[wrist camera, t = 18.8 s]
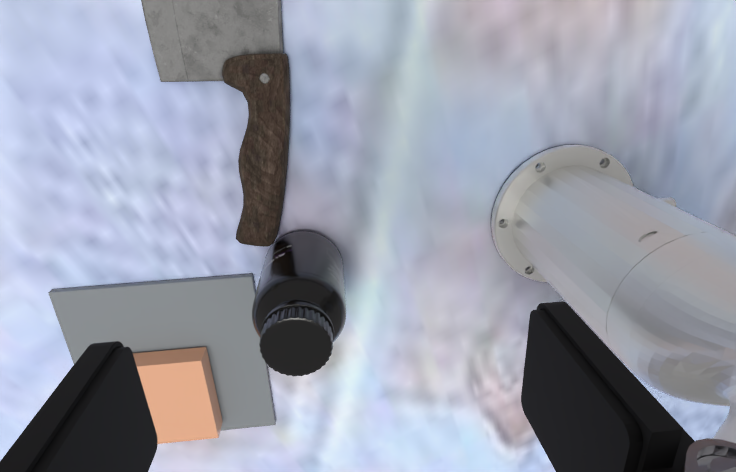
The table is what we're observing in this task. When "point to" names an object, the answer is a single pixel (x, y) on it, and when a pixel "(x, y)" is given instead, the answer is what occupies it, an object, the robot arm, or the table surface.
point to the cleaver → (242, 71)
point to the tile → (180, 394)
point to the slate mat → (180, 332)
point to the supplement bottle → (299, 303)
